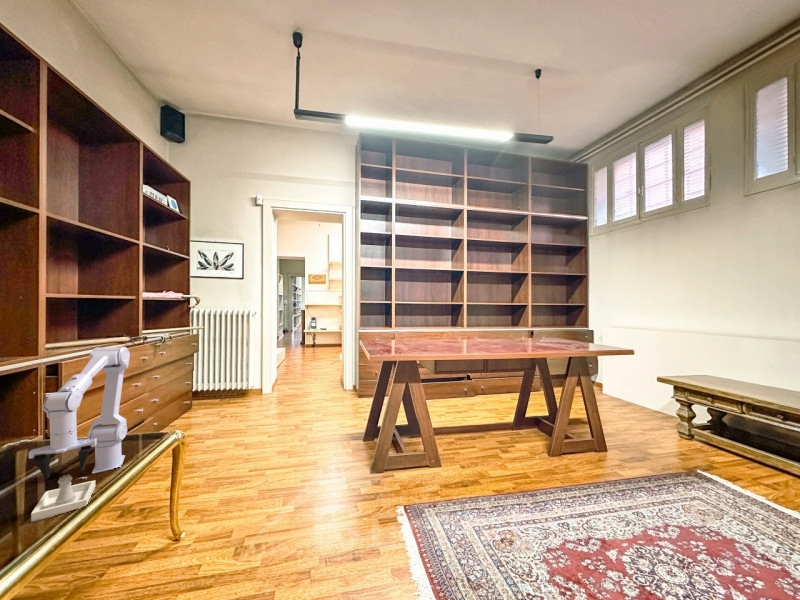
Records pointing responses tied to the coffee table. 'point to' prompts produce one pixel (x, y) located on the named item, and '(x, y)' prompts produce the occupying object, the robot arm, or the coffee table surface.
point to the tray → (50, 509)
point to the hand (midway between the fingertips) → (65, 474)
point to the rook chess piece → (65, 491)
